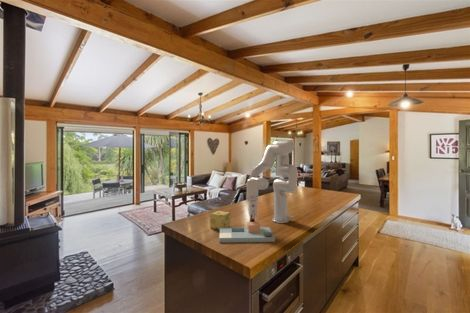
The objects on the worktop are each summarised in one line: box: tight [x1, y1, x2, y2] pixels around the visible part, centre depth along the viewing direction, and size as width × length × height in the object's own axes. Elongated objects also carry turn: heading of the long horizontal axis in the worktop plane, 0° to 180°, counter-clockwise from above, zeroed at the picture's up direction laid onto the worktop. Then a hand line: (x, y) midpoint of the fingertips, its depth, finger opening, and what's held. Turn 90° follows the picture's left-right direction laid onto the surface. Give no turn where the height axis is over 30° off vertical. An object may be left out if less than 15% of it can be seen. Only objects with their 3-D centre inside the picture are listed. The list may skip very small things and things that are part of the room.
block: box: [246, 221, 261, 233], centre depth 145 cm, size 7×7×4 cm
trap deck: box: [218, 226, 276, 243], centre depth 142 cm, size 32×18×2 cm, turn 93°
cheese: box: [209, 210, 232, 231], centre depth 159 cm, size 10×11×10 cm
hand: (252, 226), depth 151 cm, fingers closed
